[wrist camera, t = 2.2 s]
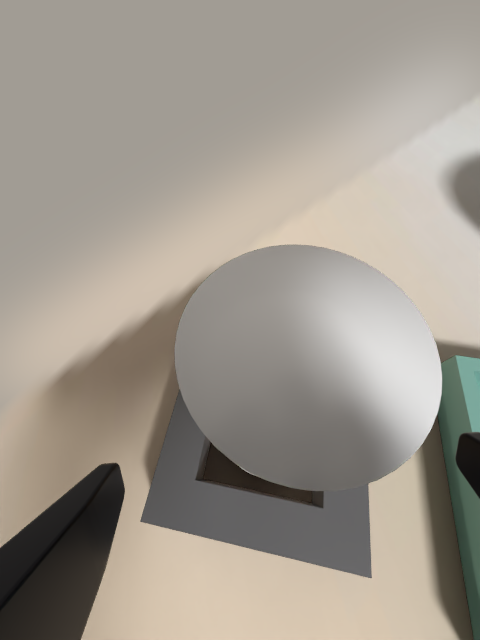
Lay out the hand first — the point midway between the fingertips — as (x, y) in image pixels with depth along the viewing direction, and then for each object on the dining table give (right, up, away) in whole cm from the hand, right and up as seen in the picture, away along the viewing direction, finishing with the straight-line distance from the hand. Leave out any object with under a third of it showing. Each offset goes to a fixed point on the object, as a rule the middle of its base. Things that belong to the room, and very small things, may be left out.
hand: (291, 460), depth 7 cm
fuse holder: (0, -3, +9) cm, 10 cm away
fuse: (0, -3, +9) cm, 10 cm away
